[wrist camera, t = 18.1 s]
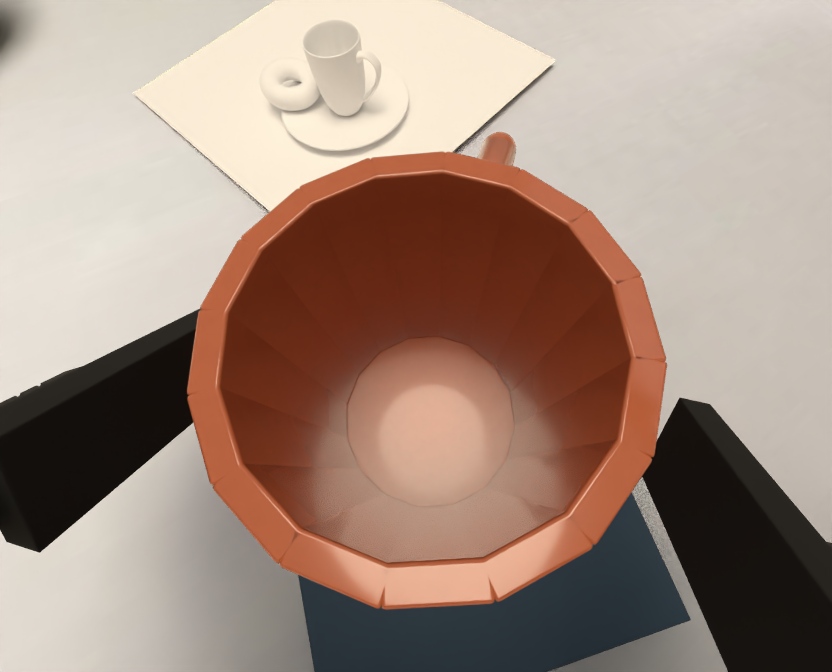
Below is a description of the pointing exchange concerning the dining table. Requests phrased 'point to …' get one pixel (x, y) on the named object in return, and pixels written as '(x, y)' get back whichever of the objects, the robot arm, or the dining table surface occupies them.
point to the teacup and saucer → (338, 88)
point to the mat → (508, 616)
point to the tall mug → (427, 379)
